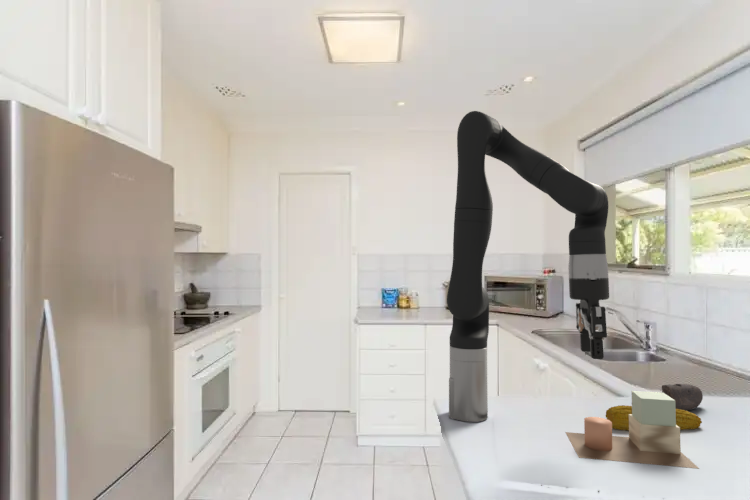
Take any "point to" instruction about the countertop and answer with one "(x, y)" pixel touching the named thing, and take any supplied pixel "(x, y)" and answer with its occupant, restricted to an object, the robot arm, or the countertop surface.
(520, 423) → the countertop surface
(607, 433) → the peach rounded cylinder
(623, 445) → the board
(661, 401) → the top block
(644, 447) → the base block
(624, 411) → the food
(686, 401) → the perforated stone tool
